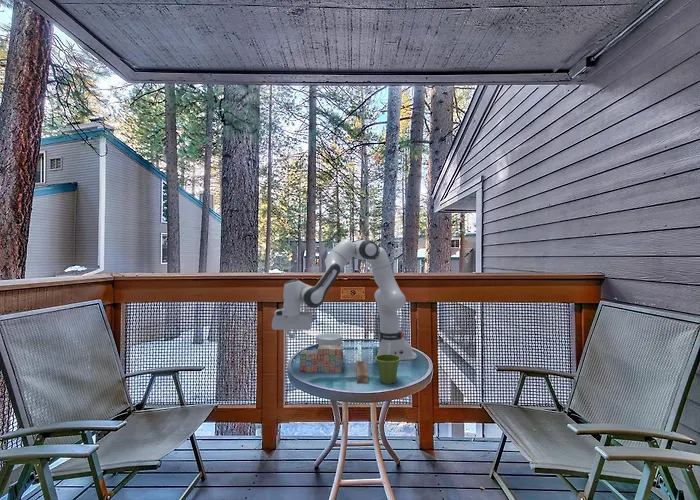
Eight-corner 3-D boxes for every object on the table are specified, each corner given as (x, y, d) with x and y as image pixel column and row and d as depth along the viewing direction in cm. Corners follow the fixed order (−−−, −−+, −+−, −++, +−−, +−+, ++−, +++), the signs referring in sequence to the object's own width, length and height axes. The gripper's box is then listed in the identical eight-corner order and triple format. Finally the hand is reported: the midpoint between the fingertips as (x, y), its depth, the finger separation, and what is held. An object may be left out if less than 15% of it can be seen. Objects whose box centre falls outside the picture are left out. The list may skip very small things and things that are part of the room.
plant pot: (396, 376, 175) (396, 353, 174) (403, 385, 163) (403, 361, 163) (372, 377, 173) (372, 354, 173) (378, 387, 161) (378, 362, 161)
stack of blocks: (299, 372, 181) (299, 347, 180) (302, 367, 187) (302, 344, 187) (341, 373, 179) (341, 349, 178) (342, 368, 185) (342, 345, 185)
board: (365, 368, 186) (365, 361, 186) (367, 383, 166) (367, 375, 166) (356, 368, 186) (356, 361, 186) (357, 383, 166) (357, 375, 166)
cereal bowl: (344, 350, 217) (344, 338, 217) (317, 351, 214) (317, 340, 214) (339, 342, 234) (339, 331, 234) (314, 344, 231) (314, 333, 230)
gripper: (312, 310, 185) (312, 336, 186) (273, 310, 186) (273, 336, 186) (311, 312, 179) (311, 340, 179) (271, 312, 179) (270, 339, 179)
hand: (291, 338), depth 183 cm, fingers closed
